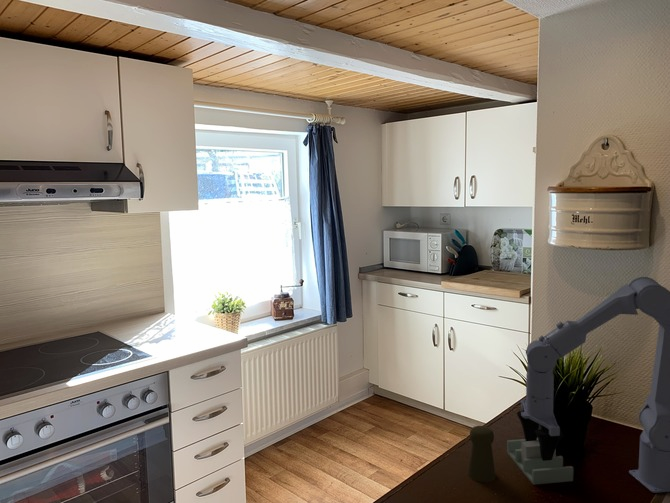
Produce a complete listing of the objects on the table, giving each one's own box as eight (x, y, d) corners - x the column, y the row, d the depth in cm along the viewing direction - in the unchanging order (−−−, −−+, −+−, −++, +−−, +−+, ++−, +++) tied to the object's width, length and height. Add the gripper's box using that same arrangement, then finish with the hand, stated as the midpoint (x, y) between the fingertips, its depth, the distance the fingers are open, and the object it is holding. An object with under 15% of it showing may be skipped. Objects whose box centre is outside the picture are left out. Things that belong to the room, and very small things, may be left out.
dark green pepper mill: (488, 485, 112) (488, 437, 111) (462, 476, 116) (462, 429, 115) (500, 473, 117) (500, 427, 116) (475, 464, 121) (475, 419, 119)
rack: (542, 449, 126) (543, 437, 126) (573, 481, 113) (573, 467, 113) (507, 452, 126) (507, 440, 125) (533, 484, 112) (533, 471, 112)
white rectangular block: (550, 459, 121) (550, 439, 120) (555, 465, 118) (555, 444, 118) (521, 462, 120) (521, 441, 119) (525, 467, 118) (526, 446, 117)
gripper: (509, 383, 124) (508, 436, 126) (537, 409, 110) (536, 469, 111) (537, 381, 124) (536, 434, 126) (569, 406, 110) (568, 466, 112)
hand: (538, 450), depth 119 cm, fingers open, 7 cm apart
